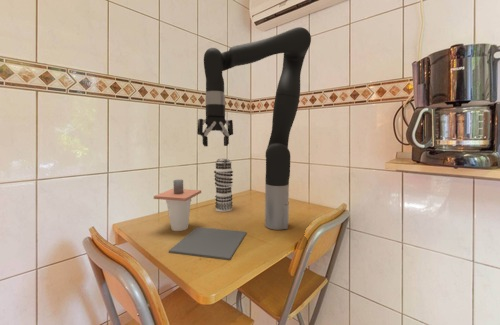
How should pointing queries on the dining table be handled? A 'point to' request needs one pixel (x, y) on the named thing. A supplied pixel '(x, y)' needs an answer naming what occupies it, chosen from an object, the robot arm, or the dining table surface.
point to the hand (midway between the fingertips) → (215, 146)
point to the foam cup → (178, 214)
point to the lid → (178, 193)
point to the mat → (210, 243)
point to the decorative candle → (223, 185)
